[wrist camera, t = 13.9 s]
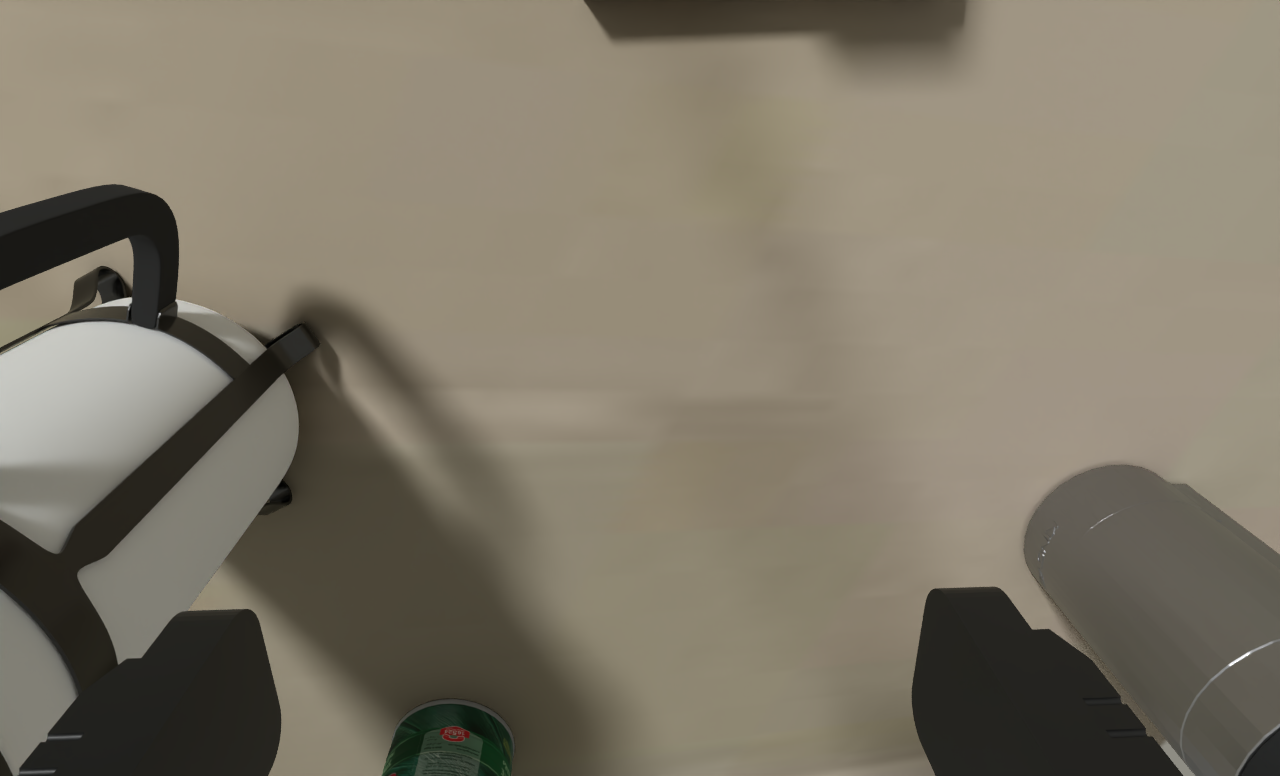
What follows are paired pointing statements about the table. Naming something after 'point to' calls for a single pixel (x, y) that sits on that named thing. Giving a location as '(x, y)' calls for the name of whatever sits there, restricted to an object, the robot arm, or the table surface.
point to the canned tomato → (451, 742)
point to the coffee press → (121, 453)
